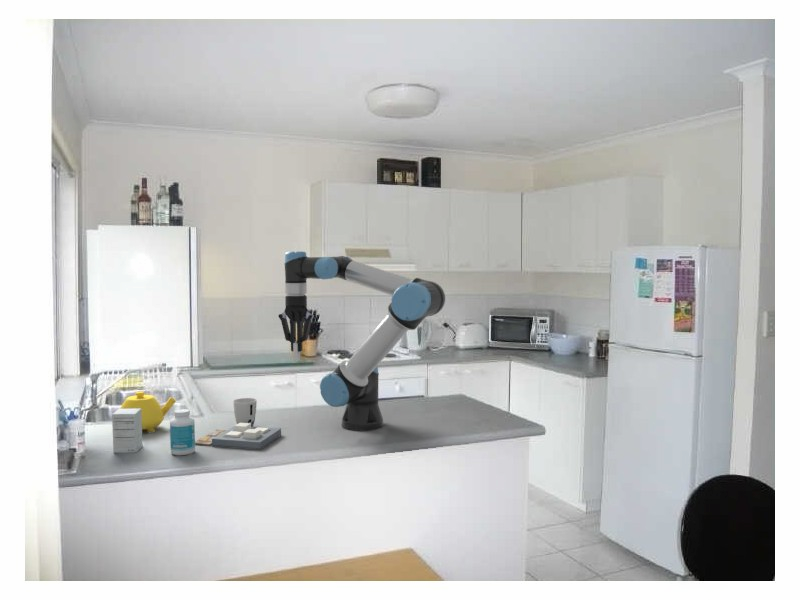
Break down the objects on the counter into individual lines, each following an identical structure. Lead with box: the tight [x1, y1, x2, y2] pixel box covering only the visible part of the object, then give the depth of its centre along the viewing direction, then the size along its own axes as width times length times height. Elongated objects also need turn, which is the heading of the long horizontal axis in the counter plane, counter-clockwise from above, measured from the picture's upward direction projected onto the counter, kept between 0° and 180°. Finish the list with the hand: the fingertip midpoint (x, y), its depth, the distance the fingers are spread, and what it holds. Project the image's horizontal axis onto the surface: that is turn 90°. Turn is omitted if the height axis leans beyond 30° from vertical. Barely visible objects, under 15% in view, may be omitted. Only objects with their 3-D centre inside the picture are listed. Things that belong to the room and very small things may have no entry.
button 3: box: [243, 429, 261, 439], centre depth 229 cm, size 4×4×3 cm
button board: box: [211, 426, 282, 451], centre depth 233 cm, size 17×17×2 cm
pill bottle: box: [169, 408, 196, 456], centre depth 219 cm, size 8×7×14 cm
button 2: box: [233, 423, 251, 433], centre depth 237 cm, size 4×4×3 cm
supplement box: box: [111, 408, 143, 454], centre depth 223 cm, size 7×7×13 cm
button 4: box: [256, 426, 270, 434], centre depth 236 cm, size 4×4×3 cm
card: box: [195, 429, 228, 447], centre depth 236 cm, size 6×17×1 cm, turn 167°
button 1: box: [225, 431, 242, 438], centre depth 231 cm, size 4×4×3 cm
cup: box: [233, 397, 257, 427], centre depth 249 cm, size 8×8×10 cm
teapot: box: [119, 390, 177, 433], centre depth 247 cm, size 20×16×14 cm
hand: (296, 360), depth 248 cm, fingers closed
